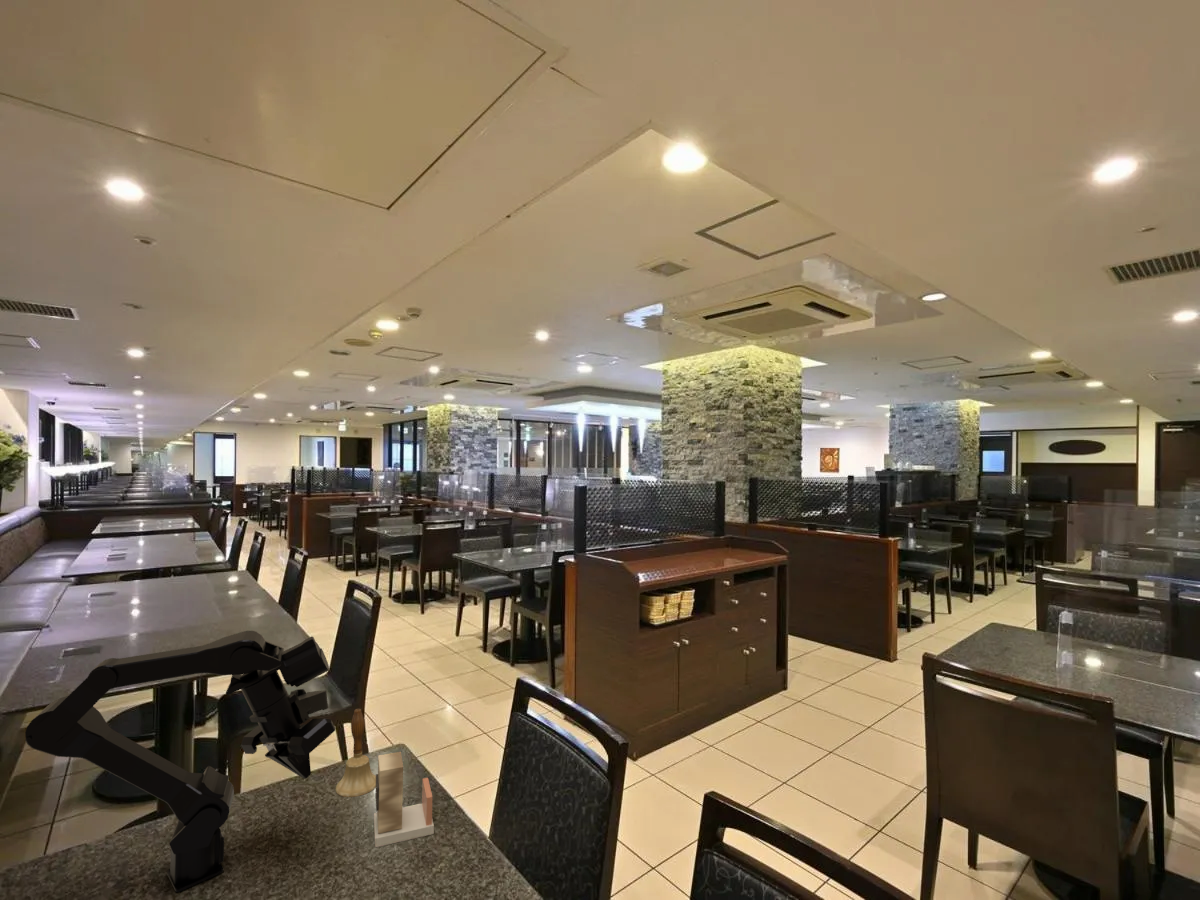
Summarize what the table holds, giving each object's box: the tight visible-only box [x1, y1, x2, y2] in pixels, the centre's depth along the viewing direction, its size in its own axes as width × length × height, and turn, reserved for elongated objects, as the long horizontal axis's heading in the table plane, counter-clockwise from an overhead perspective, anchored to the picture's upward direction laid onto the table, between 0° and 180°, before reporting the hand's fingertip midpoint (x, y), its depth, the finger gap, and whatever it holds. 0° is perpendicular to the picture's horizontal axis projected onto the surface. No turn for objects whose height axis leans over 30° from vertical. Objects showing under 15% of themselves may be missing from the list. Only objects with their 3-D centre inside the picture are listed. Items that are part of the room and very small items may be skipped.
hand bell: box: [335, 708, 376, 798], centre depth 122 cm, size 8×8×16 cm
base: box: [373, 777, 435, 848], centre depth 108 cm, size 10×8×6 cm
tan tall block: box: [374, 751, 404, 834], centre depth 107 cm, size 4×6×11 cm
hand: (307, 776), depth 102 cm, fingers closed
